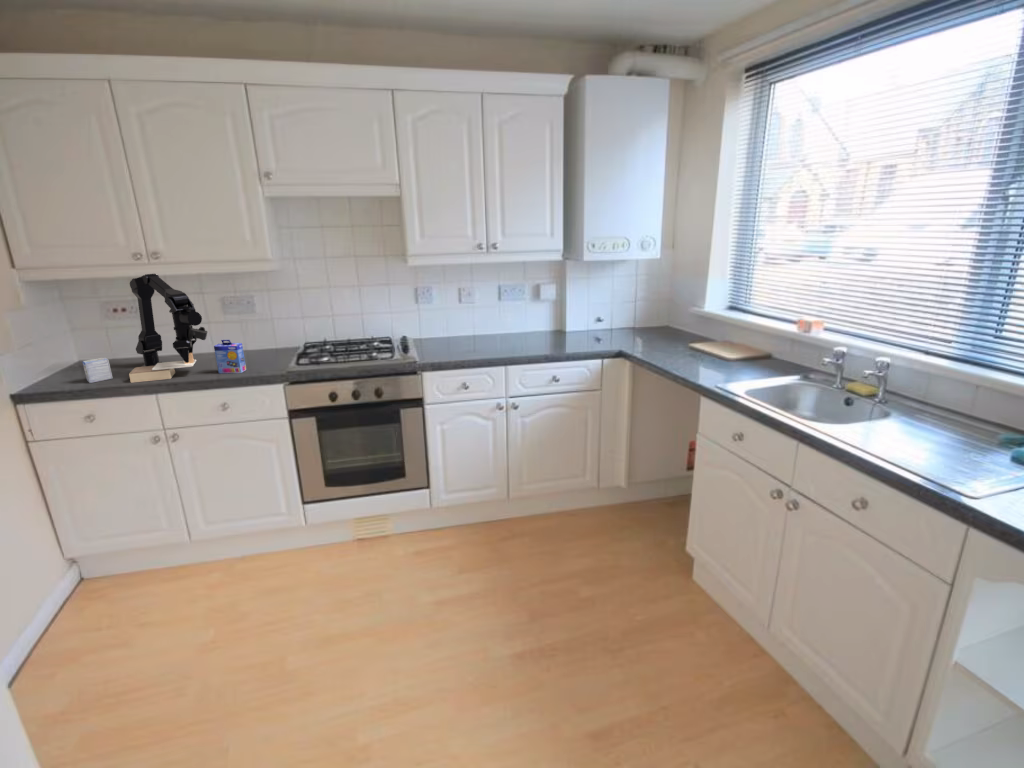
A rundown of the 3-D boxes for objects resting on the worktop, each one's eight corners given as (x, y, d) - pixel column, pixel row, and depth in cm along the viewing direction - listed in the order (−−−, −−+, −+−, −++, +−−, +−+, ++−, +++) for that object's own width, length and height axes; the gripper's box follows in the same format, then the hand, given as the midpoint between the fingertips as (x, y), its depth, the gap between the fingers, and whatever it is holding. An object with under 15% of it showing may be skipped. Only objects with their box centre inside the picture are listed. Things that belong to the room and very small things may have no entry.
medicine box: (109, 377, 226) (104, 357, 224) (113, 379, 223) (108, 358, 221) (87, 381, 220) (81, 361, 218) (90, 383, 218) (84, 362, 215)
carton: (137, 376, 226) (135, 367, 225) (175, 372, 231) (173, 363, 230) (130, 382, 218) (128, 373, 216) (170, 378, 222) (168, 369, 221)
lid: (157, 364, 228) (155, 353, 227) (196, 360, 233) (194, 350, 232) (152, 370, 219) (150, 359, 218) (192, 366, 224) (190, 355, 223)
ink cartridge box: (217, 373, 229) (211, 340, 224) (223, 370, 234) (218, 337, 230) (241, 373, 229) (235, 340, 225) (247, 369, 234) (241, 337, 230)
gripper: (200, 325, 218) (207, 363, 222) (206, 318, 234) (213, 353, 239) (169, 328, 214) (176, 366, 218) (177, 320, 230) (184, 356, 235)
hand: (189, 360), depth 228 cm, fingers open, 9 cm apart
